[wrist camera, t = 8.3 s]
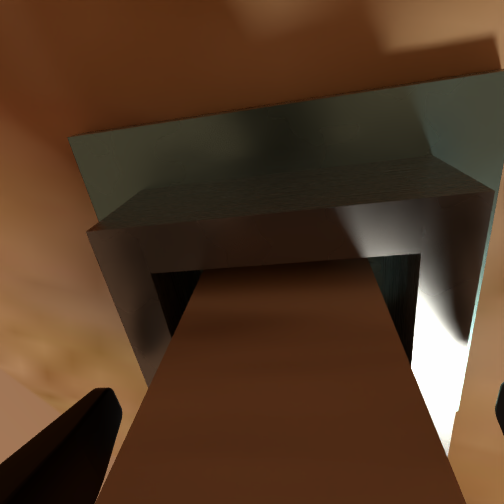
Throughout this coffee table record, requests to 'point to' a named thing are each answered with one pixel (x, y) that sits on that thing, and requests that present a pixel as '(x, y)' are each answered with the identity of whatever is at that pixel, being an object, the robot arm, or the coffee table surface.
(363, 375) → the peg
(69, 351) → the coffee table surface
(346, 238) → the socket
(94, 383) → the coffee table surface
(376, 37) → the coffee table surface
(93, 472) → the robot arm
